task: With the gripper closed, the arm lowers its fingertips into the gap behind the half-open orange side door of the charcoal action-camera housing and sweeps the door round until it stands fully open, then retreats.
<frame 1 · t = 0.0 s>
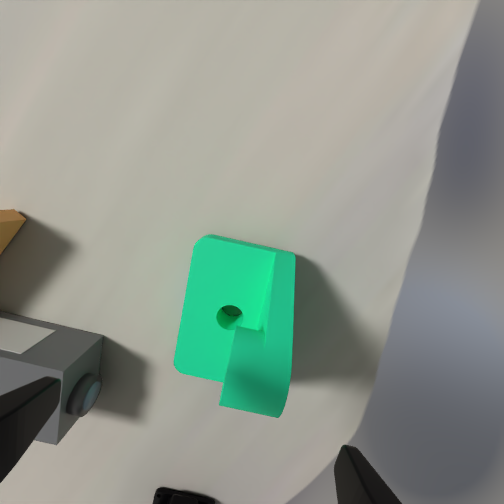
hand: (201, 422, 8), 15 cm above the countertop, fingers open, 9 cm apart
housing: (32, 351, 25), on the countertop
camera mount: (233, 303, 23), on the countertop
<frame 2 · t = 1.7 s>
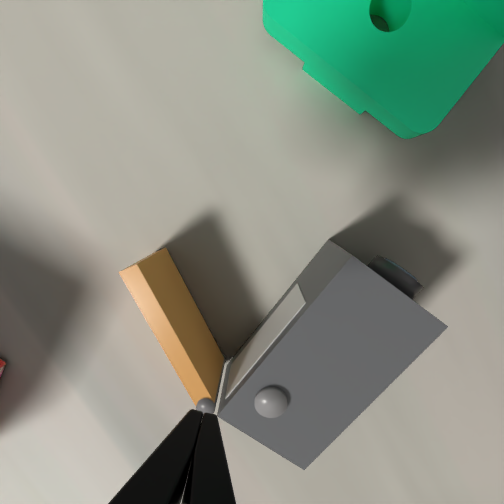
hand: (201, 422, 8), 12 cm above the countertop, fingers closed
housing: (310, 330, 20), on the countertop
door: (178, 328, 18), point 2 cm above the countertop, hinge at 60.0°
camera mount: (368, 39, 16), on the countertop
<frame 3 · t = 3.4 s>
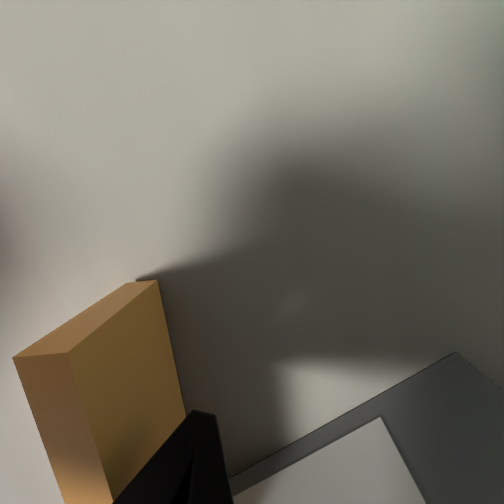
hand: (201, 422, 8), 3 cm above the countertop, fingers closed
housing: (360, 482, 12), on the countertop
door: (134, 454, 9), point 3 cm above the countertop, hinge at 60.0°, touching gripper
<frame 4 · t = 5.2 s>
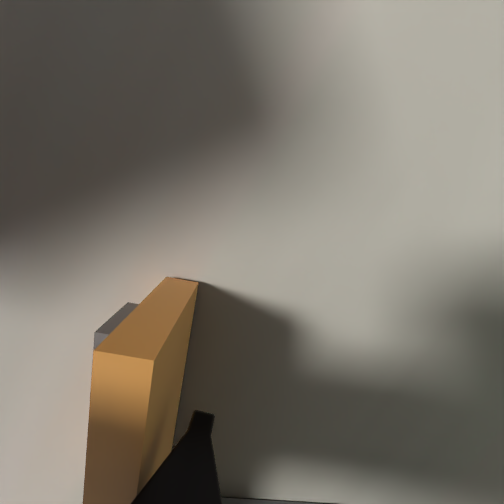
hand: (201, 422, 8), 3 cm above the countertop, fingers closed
door: (132, 450, 9), point 3 cm above the countertop, hinge at 83.9°, touching gripper
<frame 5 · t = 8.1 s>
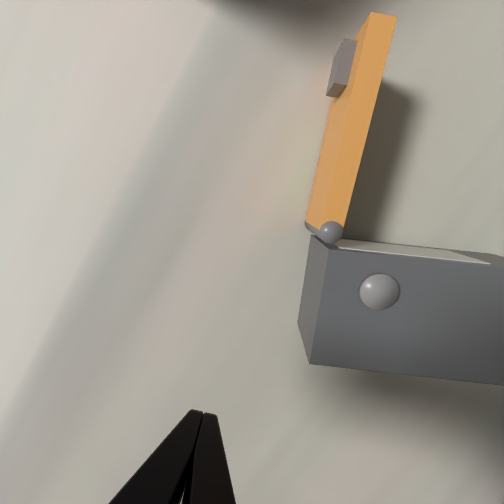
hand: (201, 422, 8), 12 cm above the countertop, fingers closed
housing: (390, 289, 19), on the countertop
door: (333, 146, 15), point 3 cm above the countertop, hinge at 85.9°
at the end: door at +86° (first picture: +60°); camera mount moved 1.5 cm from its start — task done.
